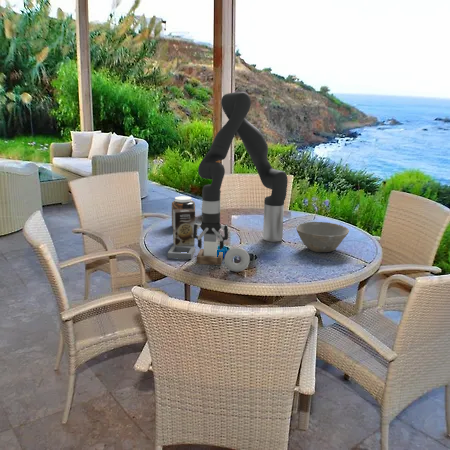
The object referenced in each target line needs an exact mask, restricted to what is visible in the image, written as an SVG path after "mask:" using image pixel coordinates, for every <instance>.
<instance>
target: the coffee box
mask: <svg viewBox="0 0 450 450" xmlns="http://www.w3.org/2000/svg"><path fill="white" fill-rule="evenodd" d="M195 223H196V210H195V211H194V210H193V209H173V227H172V243H173V246H191V247H195V246H194V245H195V243H196V241H195V239H196V238H193V232H194V224H195Z"/></svg>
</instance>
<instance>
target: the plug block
mask: <svg viewBox="0 0 450 450" xmlns="http://www.w3.org/2000/svg"><path fill="white" fill-rule="evenodd" d="M218 239H219V238H218V237H217V236H216V234H209V233H205V234H204V236H203V249H204V256H215V257H217V250H218Z"/></svg>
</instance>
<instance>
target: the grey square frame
mask: <svg viewBox="0 0 450 450" xmlns="http://www.w3.org/2000/svg"><path fill="white" fill-rule="evenodd" d="M181 252H187V253H181ZM194 253H195V254H196V246H175V245H172V246H171V247H170V249H169V250H168V252H167V259H168V258H178V259H177V260H184V259H191V260H193V257H194V256H195V254H194ZM193 255H194V256H193Z"/></svg>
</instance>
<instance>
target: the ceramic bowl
mask: <svg viewBox="0 0 450 450" xmlns="http://www.w3.org/2000/svg"><path fill="white" fill-rule="evenodd" d="M296 232H297V234H298V237H299V238H300V240H301V241H302V244H304V246H305V247H306V248H307V249H308V250H310V251H312V252H315V253H329V252H333V251H335V250H336V249H337V248H338V247H339V246H340V244H341V243H342V242H343V241H344V239H346V237H347V235H348V234H349V232H350V229H349V228H348V227H346V226H343V225H341V224H337V223H333V222H326V221H309V222H303V223H300V224H298V225H297V226H296Z"/></svg>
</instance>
